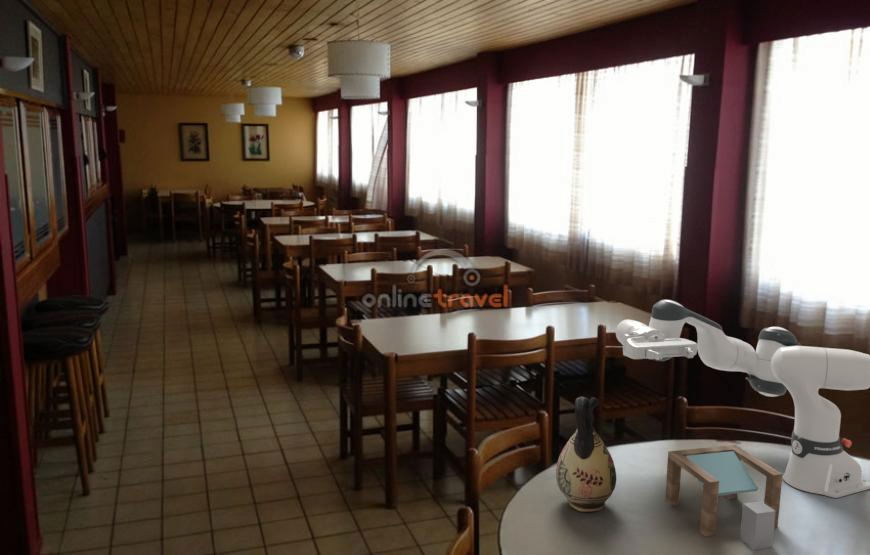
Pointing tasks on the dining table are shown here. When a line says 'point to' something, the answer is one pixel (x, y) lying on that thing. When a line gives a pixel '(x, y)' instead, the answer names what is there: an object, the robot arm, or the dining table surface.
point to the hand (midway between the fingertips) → (675, 356)
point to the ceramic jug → (586, 463)
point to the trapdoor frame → (717, 482)
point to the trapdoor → (725, 472)
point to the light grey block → (757, 525)
